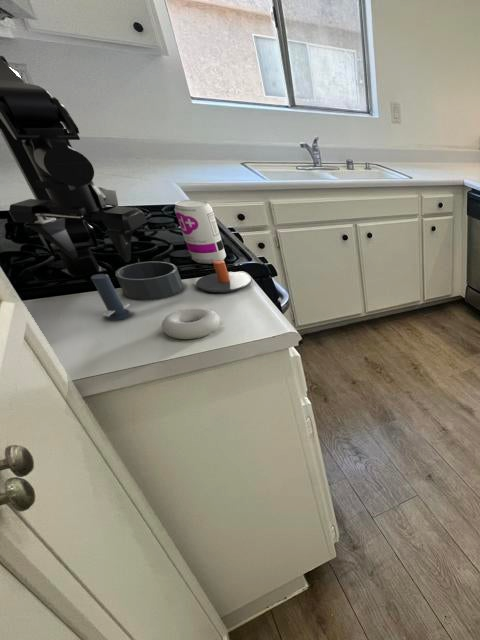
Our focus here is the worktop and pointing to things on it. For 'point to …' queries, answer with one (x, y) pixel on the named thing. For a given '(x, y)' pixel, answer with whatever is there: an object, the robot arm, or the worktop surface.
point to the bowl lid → (223, 279)
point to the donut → (191, 323)
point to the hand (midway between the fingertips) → (101, 259)
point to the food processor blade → (110, 298)
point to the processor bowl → (149, 280)
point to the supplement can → (200, 230)
